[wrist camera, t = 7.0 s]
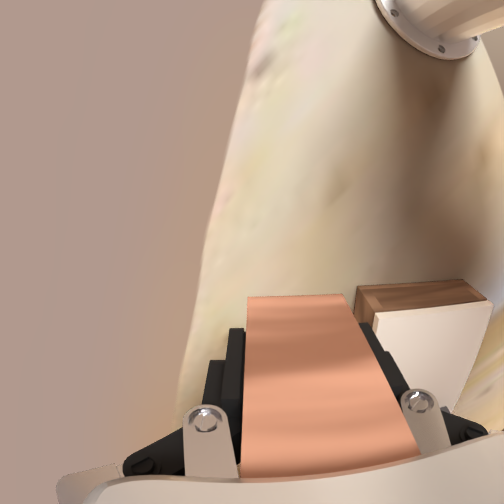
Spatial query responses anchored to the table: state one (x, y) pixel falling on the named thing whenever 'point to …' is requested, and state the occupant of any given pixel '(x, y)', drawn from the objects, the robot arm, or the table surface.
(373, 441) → the salmon orange block
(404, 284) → the toolbox
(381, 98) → the table surface
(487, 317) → the toolbox lid
